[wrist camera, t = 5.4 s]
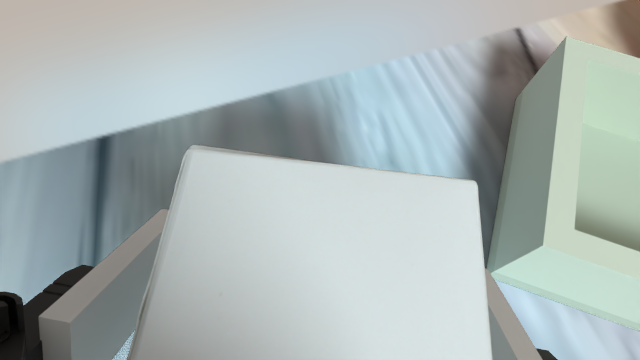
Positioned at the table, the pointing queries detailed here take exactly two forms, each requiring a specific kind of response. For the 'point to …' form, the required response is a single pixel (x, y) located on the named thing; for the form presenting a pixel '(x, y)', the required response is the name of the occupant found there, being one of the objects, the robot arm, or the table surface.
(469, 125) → the table surface
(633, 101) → the open square container
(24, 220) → the table surface
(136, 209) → the table surface
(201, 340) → the supplement box
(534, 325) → the table surface
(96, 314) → the robot arm
